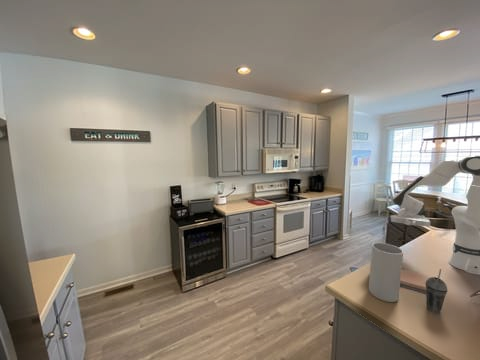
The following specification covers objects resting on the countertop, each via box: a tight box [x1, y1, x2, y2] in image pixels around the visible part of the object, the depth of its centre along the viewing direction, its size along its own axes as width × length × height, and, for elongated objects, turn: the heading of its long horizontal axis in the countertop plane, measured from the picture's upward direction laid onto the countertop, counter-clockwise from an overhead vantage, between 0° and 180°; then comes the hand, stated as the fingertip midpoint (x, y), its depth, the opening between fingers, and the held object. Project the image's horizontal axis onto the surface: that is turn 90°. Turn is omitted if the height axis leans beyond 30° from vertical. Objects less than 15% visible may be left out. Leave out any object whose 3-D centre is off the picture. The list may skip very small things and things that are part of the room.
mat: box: [400, 284, 426, 295], centre depth 111 cm, size 18×16×1 cm
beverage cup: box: [425, 268, 448, 315], centre depth 90 cm, size 7×7×20 cm
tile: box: [400, 269, 430, 291], centre depth 112 cm, size 15×2×15 cm
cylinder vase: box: [368, 242, 404, 303], centre depth 100 cm, size 12×12×25 cm
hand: (411, 223), depth 128 cm, fingers closed
